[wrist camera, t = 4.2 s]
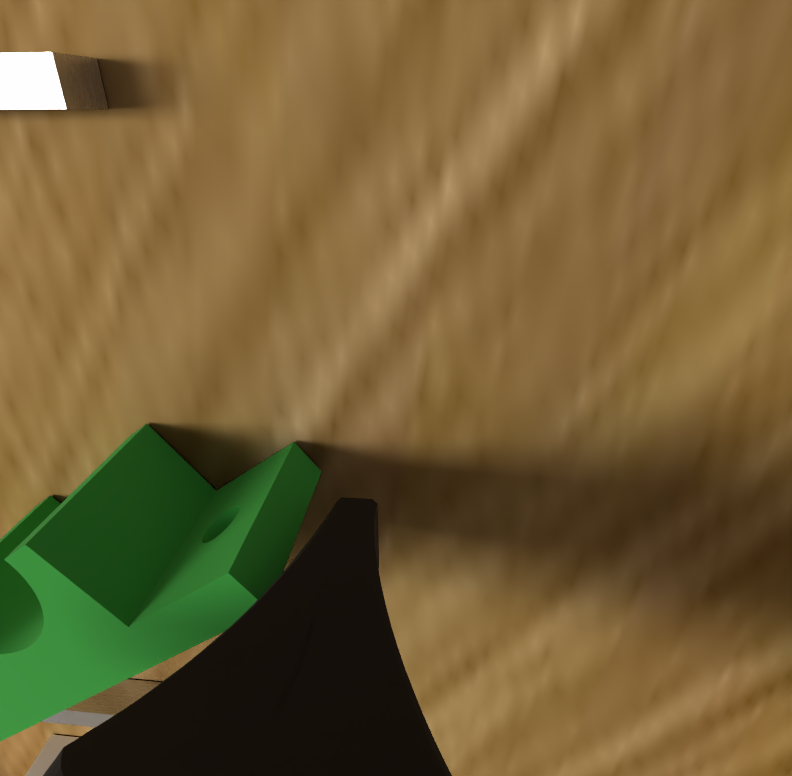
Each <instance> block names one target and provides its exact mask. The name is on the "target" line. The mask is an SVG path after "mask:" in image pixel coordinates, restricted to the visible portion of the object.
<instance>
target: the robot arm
mask: <svg viewBox="0 0 792 776" xmlns="http://www.w3.org/2000/svg"><path fill="white" fill-rule="evenodd" d="M378 568H379V545H378V509H377V503H376V502H375V501H374V500H373V499H359V498H343V497H342V498H340V499H339V500H338V501H337V502H336V504H335V505H334V507H333V508H332V510H331V511H330V513H329V514H328V516H327V517H326V519H325V520H324V521H323V523H322V524H321V526H320V527H319V528H318V530H317V531H316V532H315V534H314V535H313V536H312V538H311V539H310V540H309V542H308V543H307V544H306V545H305V546H304V548H303V549H302V550H301V551H300V553H299V554H298V555H297V556H296V558H295V559H294V560H293V561H292V563H291V564H290V565H289V566H288V567H287V568H286V570H285V571H284V572H283V573H282V574H281V575H280V576H279V577H278V578H277V580H276V581H275V582H274V583H273V584H272V585H271V586H270V587H269V588H268V590H267V591H266V592H265V593H264V594H263V595H262V596H261V597H260V598H259V599H258V600H257V601H256V602H255V603H254V604H253V605H252V606H251V607H250V608H249V609H248V610H247V611H246V612H245V613H244V614H243V615H242V616H241V617H240V618H239V619H238V620H237V621H236V622H235V623H233V624H232V625H231V626H230V627H229V628H228V629H227V630H226V631H225V632H224V633H222V634H221V635H220V636H219V637H218V638H217V639H215V640H214V641H213V642H212V643H211V644H210V645H209V646H207V647H206V648H205V649H204V650H203V651H202V652H200V653H199V654H198V655H197V656H195V657H194V658H193V659H192V660H191V661H189V662H188V663H187V664H185V665H184V666H183V667H182V668H180V669H179V670H178V671H176V672H175V673H174V674H172V675H171V676H169V677H168V678H167V679H165V680H164V681H163V682H161V683H160V684H159V685H157V686H156V687H155V688H153V689H152V690H151V691H149V692H148V693H146V694H145V695H144V696H142V697H141V698H140V699H138V700H137V701H135V702H134V703H132V704H131V705H129V706H128V707H127V708H125V709H124V710H122V711H120V712H119V713H117V714H116V715H114V716H112V717H111V718H109V719H108V720H106V721H105V722H103V723H101V724H100V725H98V726H97V727H95V728H94V729H92V730H90V731H89V732H87V733H86V734H84V735H83V736H81V737H79V738H78V739H76V740H74V741H73V742H71V743H69V744H68V745H66V746H64V747H63V748H62V750H61V751H60V753H59V754H58V756H57V757H56V759H55V760H54V761H53V763H52V764H51V765H50V767H49V768H48V769H47V771H46V772H45V773H44V775H43V776H452V775H451V773H450V771H449V769H448V767H447V765H446V763H445V761H444V759H443V757H442V755H441V753H440V751H439V749H438V747H437V745H436V742H435V740H434V738H433V736H432V734H431V731H430V729H429V727H428V725H427V722H426V720H425V718H424V716H423V713H422V711H421V708H420V706H419V703H418V701H417V698H416V696H415V693H414V691H413V688H412V686H411V683H410V680H409V678H408V675H407V673H406V670H405V667H404V665H403V662H402V659H401V656H400V653H399V650H398V647H397V644H396V640H395V637H394V634H393V630H392V627H391V624H390V620H389V616H388V612H387V609H386V604H385V600H384V596H383V591H382V587H381V582H380V577H379V571H378Z"/></svg>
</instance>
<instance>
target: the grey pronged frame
mask: <svg viewBox="0 0 792 776" xmlns="http://www.w3.org/2000/svg"><path fill="white" fill-rule="evenodd" d="M37 109H108V106H107V101H106V97H105V92H104V88H103V83H102V79H101V75H100V70H99V66H98V61H97V58H91V57H84V56H77V55H70V54H62V53H55V52H28V53H0V110H37ZM160 683H161V682H151V681H141V680H130V679H126V680H124V681H122V682H120V683H118V684H116V685H114V686H112V687H110V688H108V689H106V690H104V691H102V692H100V693H98V694H96V695H94V696H92V697H90V698H88V699H86V700H84V701H82V702H80V703H78V704H75V705H73V706H71V707H69V708H67V709H65V710H63V711H61V712H59V713H57V714H55V715H53V716H51V717H49V718H47V719H45V720H43V721H41V722H50V723H60V724H69V725H79V726H88V727H97V726H98V725H100V724H101V723H103V722H105V721H106V720H108V719H109V718H111V717H112V716H114V715H116V714H117V713H119V712H120V711H122V710H124V709H125V708H127V707H128V706H129V705H131V704H132V703H134V702H135V701H137V700H138V699H140V698H141V697H142V696H144V695H145V694H146V693H148V692H149V691H151V690H152V689H153V688H155V687H156V686H157V685H159V684H160Z"/></svg>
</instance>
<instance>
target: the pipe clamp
mask: <svg viewBox="0 0 792 776" xmlns="http://www.w3.org/2000/svg"><path fill="white" fill-rule="evenodd" d="M321 472H322V471H321V470H320V469H319V468H318V467H317V466H316V465H315V464H314V463H313V462H312V461H311V460H310V458H309V457H308V456H307V455H306V454H305V453H304V452H303V451H302V450H301V449H300V448H299V447H298V445H297V444H296V443H295V442H293V443H291V444H290V445H288V446H287V447H285V448H283V449H282V450H280V451H279V452H277V453H275V454H274V455H272V456H271V457H269V458H267V459H266V460H264V461H263V462H261V463H260V464H258V465H256V466H255V467H253V468H252V469H250V470H248V471H247V472H245V473H244V474H242V475H241V476H239V477H237V478H236V479H234V480H233V481H231V482H229V483H228V484H226V485H225V486H223V487H222V488H220V489H218V490H217V491H216V490H215V489H214V488H213V487H212V486H211V485H210V484H209V483H208V482H207V481H206V480H204V479H203V478H202V477H201V476H200V475H199V474H198V473H197V472H196V471H195V470H194V469H193V468H192V467H191V466H190V465H189V464H188V463H187V462H186V461H185V460H184V459H183V458H182V457H181V456H180V455H179V454H178V453H177V452H176V451H175V450H174V449H173V448H172V447H170V446H169V445H168V444H167V443H166V442H165V441H164V440H163V439H162V438H161V437H160V436H159V435H158V434H157V433H156V432H155V431H154V430H153V429H152V428H151V427H150V426H149V425H148V424H146V425H144V426H143V427H142V428H140V429H139V430H138V431H136V432H135V433H134V434H132V435H131V436H130V437H129V438H127V439H126V440H125V441H124V442H123V443H122V444H121V445H120V446H119V447H118V448H117V449H116V450H115V451H114V452H113V453H112V454H111V455H110V456H109V457H108V458H107V459H106V460H105V461H104V462H103V463H102V464H101V465H100V466H99V467H98V468H97V469H96V470H95V471H94V472H93V473H92V474H91V475H90V476H89V477H88V478H87V479H86V480H85V481H84V482H83V483H82V484H81V485H80V486H79V487H78V488H77V489H76V490H75V491H74V492H73V493H71V494H70V495H69V496H68V497H67V498H66V499H65V500H64V501H63V502H62V503H60V502H58V501H57V500H55V499H54V498H53V497H52V496H49V497H48V498H46V499H45V500H44V501H42V502H41V503H40V504H38V505H37V506H36V507H35V508H34V509H33V510H31V511H30V512H29V513H28V514H27V515H26V516H25V517H24V518H23V519H22V520H21V521H20V522H19V523H17V524H16V525H15V526H14V527H13V528H12V529H11V530H10V531H9V532H8V533H7V534H6V535H5V536H3V537H2V538H1V539H0V741H2V740H4V739H6V738H8V737H10V736H12V735H14V734H16V733H18V732H21V731H23V730H25V729H27V728H29V727H31V726H33V725H35V724H37V723H39V722H41V721H43V720H45V719H47V718H49V717H51V716H53V715H55V714H57V713H59V712H61V711H63V710H65V709H67V708H69V707H71V706H73V705H75V704H78V703H80V702H82V701H84V700H86V699H88V698H90V697H92V696H94V695H96V694H98V693H100V692H102V691H104V690H106V689H108V688H110V687H112V686H114V685H116V684H118V683H120V682H122V681H124V680H126V679H128V678H130V677H132V676H135V675H137V674H139V673H141V672H143V671H145V670H147V669H149V668H151V667H153V666H155V665H157V664H159V663H161V662H163V661H165V660H167V659H169V658H171V657H173V656H175V655H177V654H179V653H181V652H183V651H185V650H187V649H189V648H191V647H194V646H196V645H198V644H200V643H202V642H204V641H206V640H208V639H210V638H212V637H214V636H216V635H218V634H220V633H222V632H224V631H226V630H227V629H228V628H229V627H230V626H231V625H232V624H233V623H235V622H236V621H237V620H238V619H239V618H240V617H241V616H242V615H243V614H244V613H245V612H246V611H247V610H248V609H249V608H250V607H251V606H252V605H253V604H254V603H255V602H256V601H257V600H258V599H259V598H260V597H261V596H262V595H263V594H264V593H265V592H266V591H267V590H268V588H269V587H270V586H271V585H272V584H273V583H274V582H275V581H276V580H277V578H278V577H279V576H280V575H281V574H282V573H283V571H284V568H285V566H286V563H287V560H288V558H289V555H290V552H291V550H292V547H293V545H294V542H295V539H296V537H297V534H298V532H299V529H300V526H301V524H302V521H303V519H304V516H305V513H306V511H307V508H308V506H309V503H310V500H311V498H312V495H313V493H314V490H315V487H316V485H317V482H318V480H319V477H320V474H321Z"/></svg>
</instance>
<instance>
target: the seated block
mask: <svg viewBox="0 0 792 776" xmlns="http://www.w3.org/2000/svg"><path fill="white" fill-rule="evenodd" d="M78 738H79V737H70V736H61V735H51V736H50V738H49V739H48V741H47V742H46V744H45V746H44V747H43V749H42V750H41V752H40V753H39V755H38V756H37V758H36V759H35V761H34V763H33V764H32V766H31V767H30V769H29V770H28V772H27V773H26V775H25V776H43V775H44V773H45V772H46V771H47V769H48V768H49V767H50V765H51V764H52V763H53V761H54V760H55V759H56V757H57V756H58V754H59V753H60V751H61V750H62V748H63V747H64V746H66V745H68V744H69V743H71V742H73V741H74V740H76V739H78Z"/></svg>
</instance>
